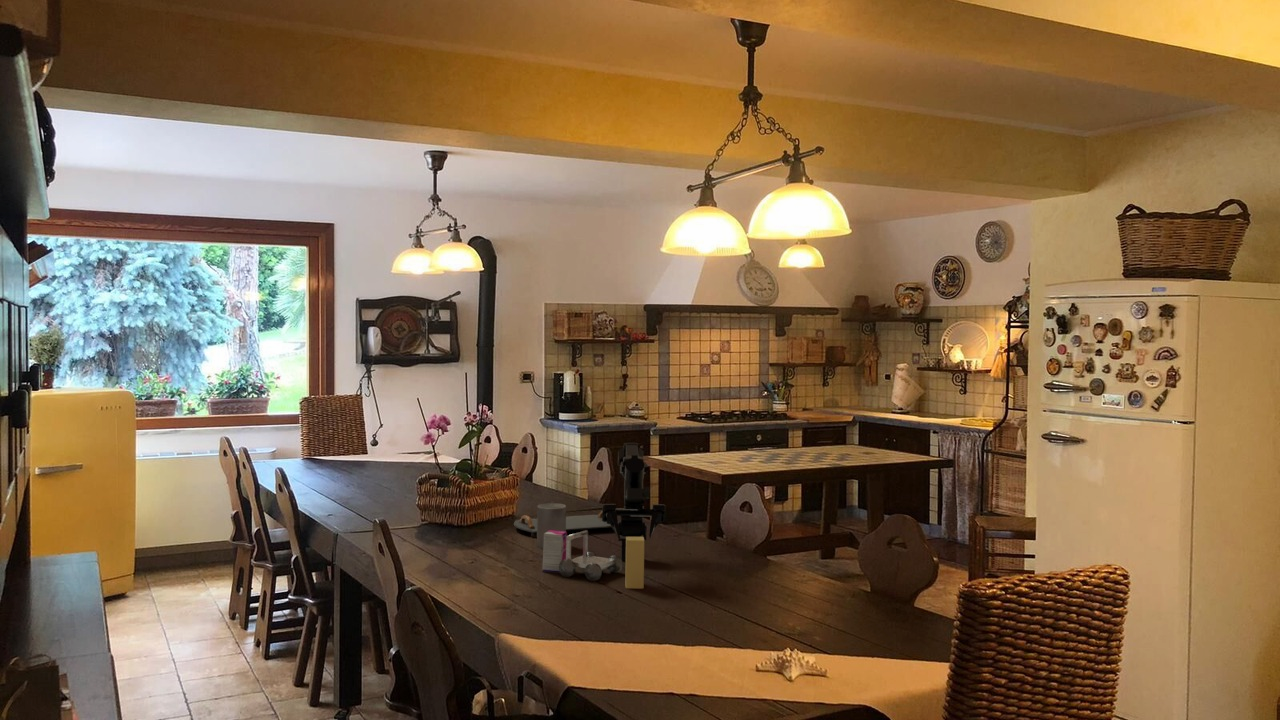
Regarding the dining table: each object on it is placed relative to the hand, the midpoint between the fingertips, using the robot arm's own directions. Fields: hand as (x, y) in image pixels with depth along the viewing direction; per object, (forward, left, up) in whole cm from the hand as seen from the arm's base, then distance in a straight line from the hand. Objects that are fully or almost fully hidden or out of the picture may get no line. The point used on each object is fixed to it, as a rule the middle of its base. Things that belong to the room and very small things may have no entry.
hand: (634, 537), depth 276 cm
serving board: (-52, -58, -13) cm, 79 cm away
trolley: (+1, -14, -12) cm, 19 cm away
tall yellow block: (+6, +3, -12) cm, 14 cm away
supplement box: (+3, -26, -13) cm, 29 cm away
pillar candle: (-24, -46, -13) cm, 54 cm away
